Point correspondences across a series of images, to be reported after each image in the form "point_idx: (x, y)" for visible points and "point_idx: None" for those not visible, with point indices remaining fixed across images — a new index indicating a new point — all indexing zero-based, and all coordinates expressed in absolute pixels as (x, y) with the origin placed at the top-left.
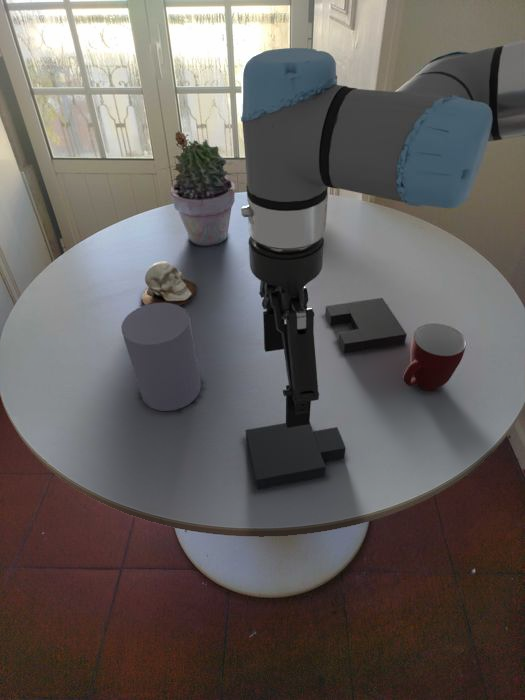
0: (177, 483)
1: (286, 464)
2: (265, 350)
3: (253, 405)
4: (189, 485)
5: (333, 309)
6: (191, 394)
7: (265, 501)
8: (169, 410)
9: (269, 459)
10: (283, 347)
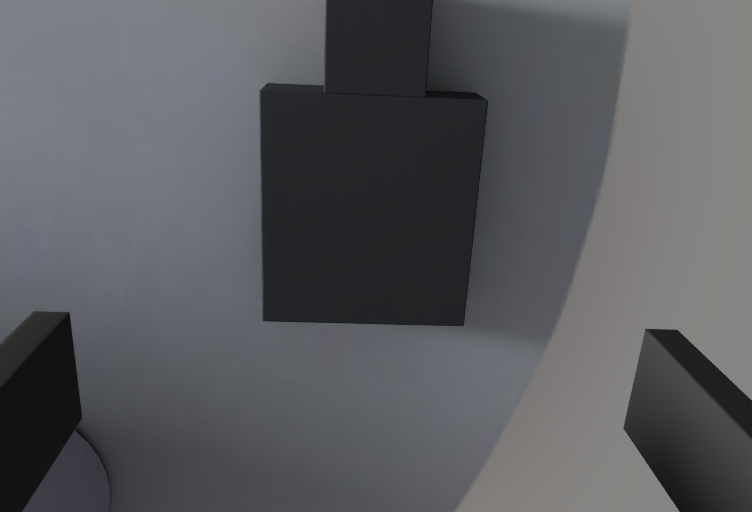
0: (372, 486)
1: (437, 226)
2: (77, 424)
3: (119, 247)
4: (387, 460)
5: None
6: (63, 452)
7: (497, 287)
8: (109, 495)
9: (402, 273)
10: (63, 323)
